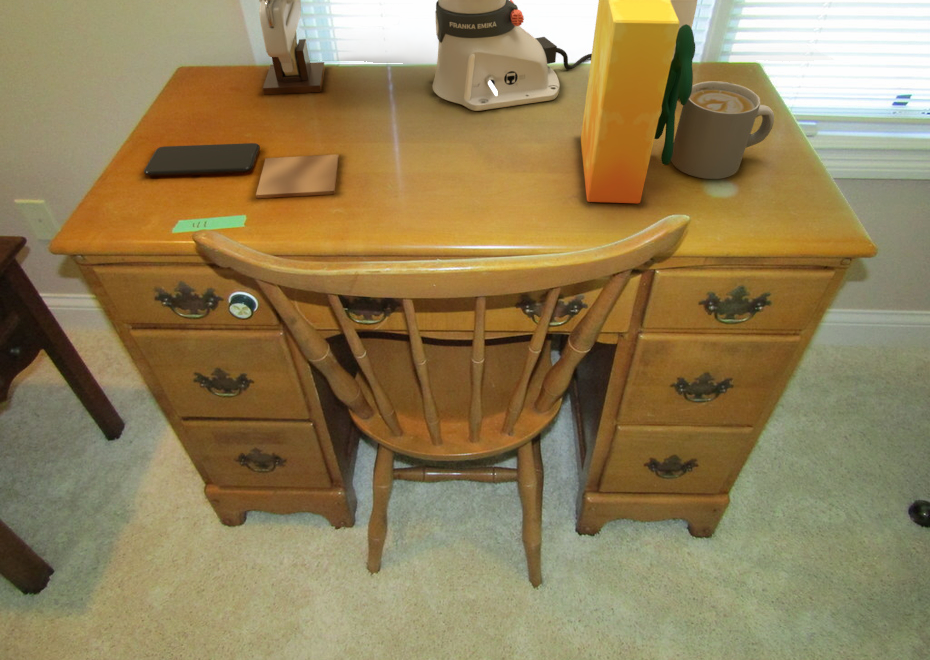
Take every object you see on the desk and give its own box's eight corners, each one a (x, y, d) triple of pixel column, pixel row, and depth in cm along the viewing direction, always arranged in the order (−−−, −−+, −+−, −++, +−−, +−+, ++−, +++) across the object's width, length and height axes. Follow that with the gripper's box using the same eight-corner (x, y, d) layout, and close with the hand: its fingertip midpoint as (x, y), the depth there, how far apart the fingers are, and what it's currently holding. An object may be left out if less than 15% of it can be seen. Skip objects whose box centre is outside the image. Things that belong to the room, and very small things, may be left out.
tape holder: (325, 68, 120) (319, 33, 115) (321, 91, 113) (314, 55, 108) (271, 70, 119) (263, 35, 114) (264, 94, 112) (255, 58, 107)
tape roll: (302, 67, 117) (296, 33, 113) (299, 81, 113) (292, 47, 109) (289, 67, 117) (282, 34, 113) (285, 82, 113) (277, 48, 108)
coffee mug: (674, 177, 92) (691, 112, 84) (666, 143, 98) (681, 79, 91) (770, 181, 90) (795, 116, 83) (754, 146, 97) (776, 83, 90)
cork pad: (339, 157, 97) (338, 154, 96) (334, 194, 90) (334, 190, 89) (266, 161, 96) (265, 157, 96) (256, 198, 89) (255, 195, 89)
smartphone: (143, 178, 93) (252, 174, 93) (140, 173, 92) (250, 168, 93) (159, 150, 99) (262, 147, 99) (157, 145, 98) (260, 141, 98)
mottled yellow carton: (677, 205, 87) (727, 22, 70) (586, 202, 87) (614, 20, 70) (660, 141, 99) (699, -28, 82) (580, 139, 100) (602, -29, 82)
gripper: (285, -2, 96) (303, 86, 106) (299, -42, 111) (313, 39, 120) (243, -1, 96) (265, 88, 106) (263, -41, 110) (280, 40, 120)
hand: (291, 62), depth 113 cm, fingers closed on tape roll, 6 cm apart
